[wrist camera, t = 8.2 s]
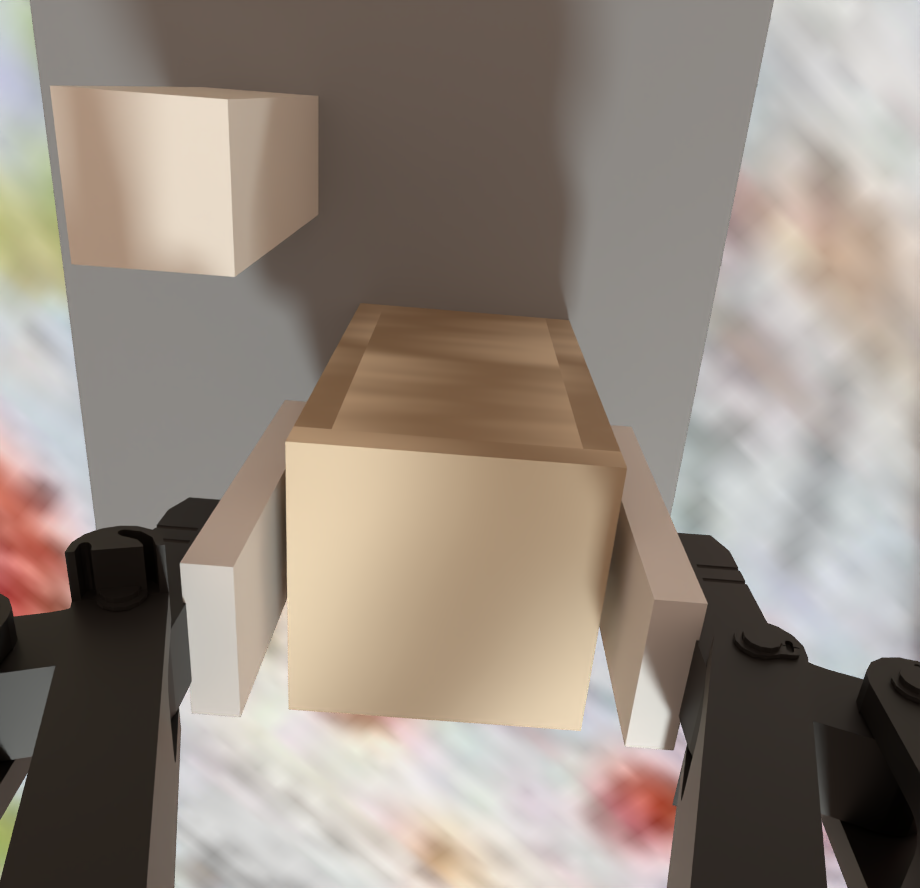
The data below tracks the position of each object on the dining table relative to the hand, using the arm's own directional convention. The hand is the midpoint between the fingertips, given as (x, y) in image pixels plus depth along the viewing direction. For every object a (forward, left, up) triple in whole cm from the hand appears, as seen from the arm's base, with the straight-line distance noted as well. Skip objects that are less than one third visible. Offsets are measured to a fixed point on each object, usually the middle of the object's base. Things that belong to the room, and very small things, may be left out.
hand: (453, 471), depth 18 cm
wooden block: (0, 0, -4) cm, 4 cm away
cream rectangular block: (-5, +6, -4) cm, 9 cm away
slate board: (-2, +2, -5) cm, 6 cm away
